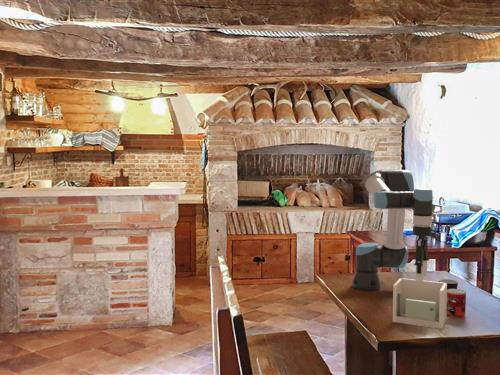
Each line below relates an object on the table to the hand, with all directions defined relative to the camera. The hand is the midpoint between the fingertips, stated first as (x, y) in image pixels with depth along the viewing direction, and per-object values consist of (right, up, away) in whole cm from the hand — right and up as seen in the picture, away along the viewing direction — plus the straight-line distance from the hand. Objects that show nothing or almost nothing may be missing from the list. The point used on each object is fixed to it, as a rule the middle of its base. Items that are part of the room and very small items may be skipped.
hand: (421, 278), depth 220 cm
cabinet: (+1, -19, +6) cm, 20 cm away
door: (0, -20, +1) cm, 20 cm away
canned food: (+20, -19, +13) cm, 30 cm away
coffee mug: (+24, -17, +35) cm, 46 cm away
